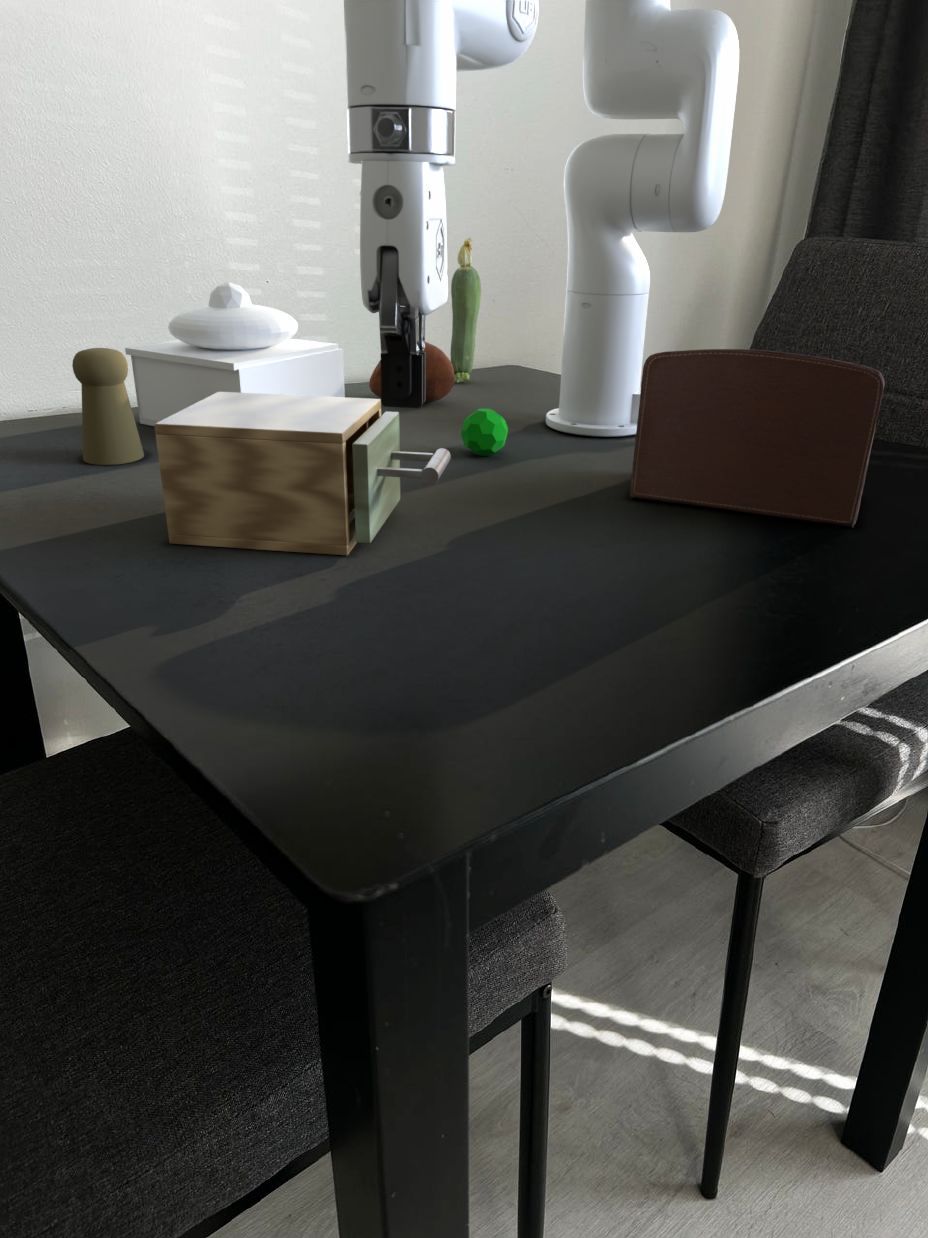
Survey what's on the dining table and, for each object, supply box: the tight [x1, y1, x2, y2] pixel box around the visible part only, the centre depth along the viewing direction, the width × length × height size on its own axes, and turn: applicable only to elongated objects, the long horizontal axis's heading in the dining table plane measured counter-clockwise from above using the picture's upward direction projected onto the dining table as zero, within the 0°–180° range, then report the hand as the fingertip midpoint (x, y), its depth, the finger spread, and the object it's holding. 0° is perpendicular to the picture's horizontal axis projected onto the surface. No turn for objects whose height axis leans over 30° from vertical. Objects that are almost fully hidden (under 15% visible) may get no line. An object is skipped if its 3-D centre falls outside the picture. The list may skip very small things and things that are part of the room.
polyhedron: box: [460, 408, 509, 457], centre depth 98 cm, size 5×5×5 cm
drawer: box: [345, 410, 452, 544], centre depth 75 cm, size 18×11×8 cm, turn 82°
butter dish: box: [124, 281, 346, 427], centre depth 108 cm, size 18×18×16 cm
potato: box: [368, 341, 455, 403], centre depth 122 cm, size 8×12×8 cm, turn 88°
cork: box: [71, 347, 145, 466], centre depth 93 cm, size 6×6×11 cm
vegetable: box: [449, 237, 482, 383], centre depth 133 cm, size 4×4×20 cm
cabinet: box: [153, 392, 382, 556], centre depth 75 cm, size 15×13×10 cm
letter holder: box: [629, 348, 885, 528], centre depth 83 cm, size 10×20×14 cm, turn 68°
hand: (403, 404), depth 71 cm, fingers closed
